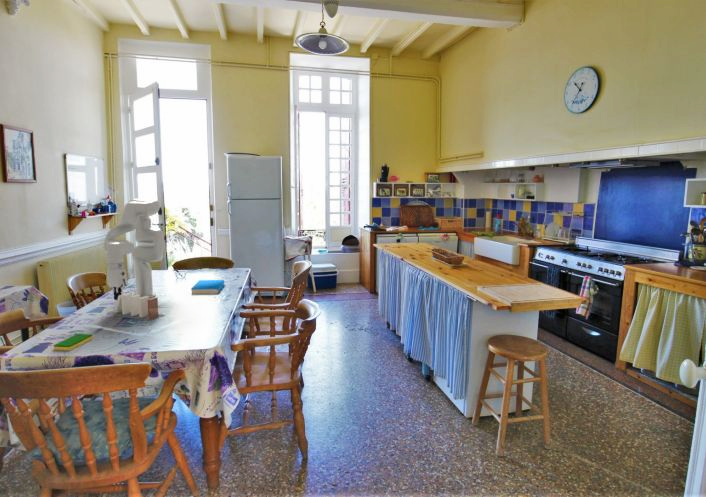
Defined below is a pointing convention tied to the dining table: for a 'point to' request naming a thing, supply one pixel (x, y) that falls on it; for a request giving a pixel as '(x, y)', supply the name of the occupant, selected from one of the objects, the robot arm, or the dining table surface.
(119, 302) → the domino
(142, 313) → the domino
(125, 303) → the domino
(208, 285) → the book
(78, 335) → the dish sponge
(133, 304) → the domino
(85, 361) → the dining table surface
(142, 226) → the robot arm
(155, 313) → the domino
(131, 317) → the mat
